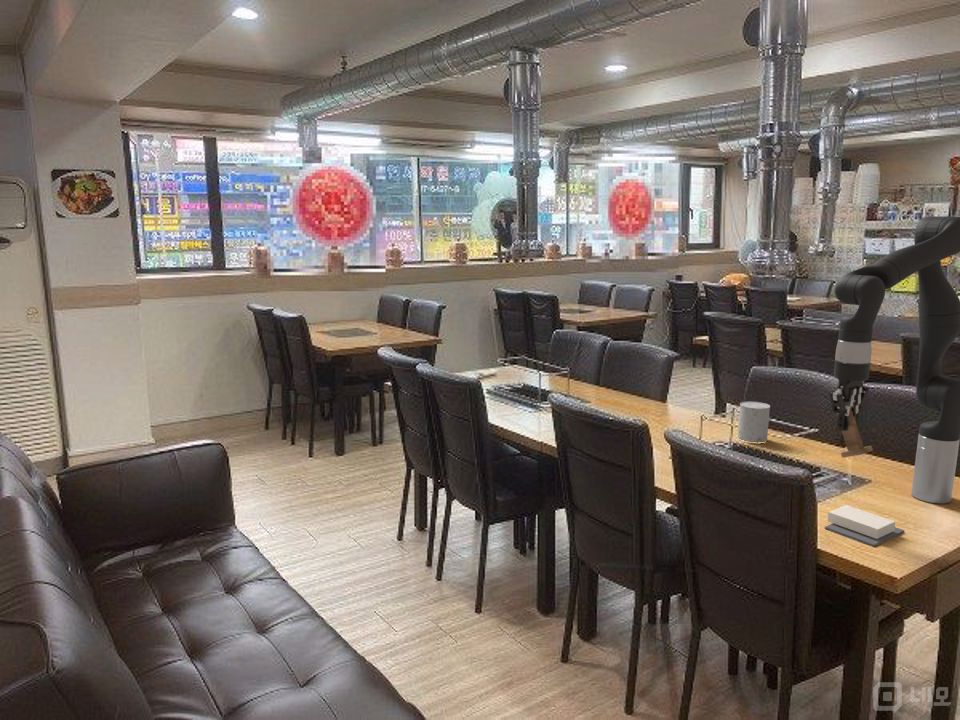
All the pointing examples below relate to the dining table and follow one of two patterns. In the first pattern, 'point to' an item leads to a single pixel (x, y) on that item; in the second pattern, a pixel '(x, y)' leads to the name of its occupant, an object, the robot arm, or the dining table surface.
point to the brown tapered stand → (853, 438)
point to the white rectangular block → (861, 521)
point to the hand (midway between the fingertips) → (845, 428)
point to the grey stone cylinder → (753, 421)
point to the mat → (863, 537)
